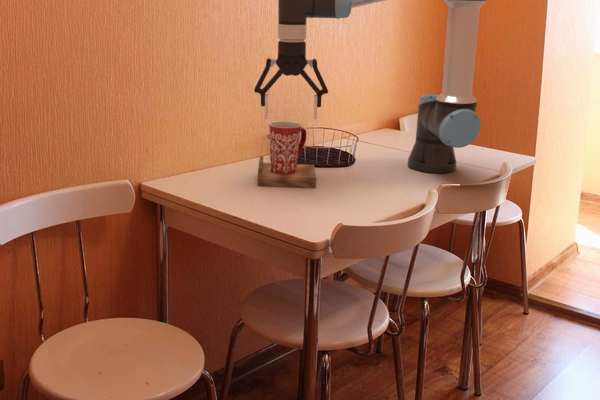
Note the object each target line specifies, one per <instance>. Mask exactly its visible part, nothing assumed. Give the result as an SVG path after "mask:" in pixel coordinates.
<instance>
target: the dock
mask: <svg viewBox="0 0 600 400" xmlns="http://www.w3.org/2000/svg"><path fill="white" fill-rule="evenodd" d="M258 160H259V161H258V168H257V186H259V187H260V186H261V187H283V188H284V187H286V188H287V187H288V188H289V187H291V188H312V189H313V188H316V186H317V185H316V184H317V177H316V176H317V175H316V169H315V164H303V163H302V164H301V163H299V164H298V163H297V168H296V172H294V173H291V174H278V173H274V172H272V171H271V162H270V163H269V162H264V156H262V155H260V156H259V159H258Z"/></svg>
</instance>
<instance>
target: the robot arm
mask: <svg viewBox="0 0 600 400" xmlns="http://www.w3.org/2000/svg"><path fill="white" fill-rule="evenodd" d="M384 1H386V0H278V2H277V3H278V8H277V9H278V12H277V13H278V14H277V15H278V16H277V18H278V19H277V21H278V24H277V25H278V26H277V38H278V40H279V41H278V42H277V58H276V59H274V58H271V57H267V58H266V62H265V67H264V69H263V71H262V73H261V74H260V77H259V78H258V82H257V83H256V85H255V87H254V89H253V91H254V93H257V94H259V95H260V106H261V107H264V119H265V120H268V119H269V94H268V93H267V92H268V91H269V90H270V89H271V88H272V86H273V85H274V84H275V83H276V82H277V81H278V79H279V78H281V77H282V75H283V76H284V75H285V76H287V77H288V76H293V77H296V76H297V77H298V76H299V75H301V77H302V78H303V79H304V81H306V83H307V84H308V85H309V86H310V88H311V89H312V90H313V91H314V93H315V94H314V95H313V99H314V100H313V120H314V121H316V120H318V119H317V118H318V116H317V115H318V108H321V107H322V96H323V95H327V94H328V93H329V89H328V88H327V85H326V83H325V81H324V78H323V77H322V74H321V72H320V70H319V68H318V61H317V59H316V58H312V59H307V58H306V56H307V55H306V53H307V52H306V51H307V48H306V47H307V45H306V44H307V42H306V41H305V40H306V39H307V19H308V18H309V19H312V18H314V19H337V20H338V19H347V18H349V17H350V15H351V13H352V9H353V8H358V7H361V6H367V5H372V4H375V3H380V2H384ZM443 3H445V4H446V6H447V7H448V10H447V11H448V12H447V20H446V21H447V23H446V34H445V35H446V37H445V49H444V61H443V71H442V85H441V86H442V87H441V92H440V94H422V95H421V96H420V97H419V102H418V106H417V107H418V108H417V109H418V110H417V120H416V130H415V131H416V133H415V134H416V135H415V140H414V141H415V142H414V144H413V146H412V149H411V152H410V153H409V156H408V159H407V167H409V168H410V169H412V170H416V171H419V172H422V173H423V172H424V173H429V174H430V173H431V174H448V173H454V172H455V171H456V170H457V158H456V153H455V149H454V148H457V149H460V148H464V147H467V146H469V145H471V144H472V143H473V142H474V141H475V140H476V139H477V138H478V136H479V135H480V132H481V127H482V123H481V118H480V117H479V115H478V113H477V104H478V101H477V98H476V97H475V96H474V95H473V86H474V77H475V67H476V66H475V65H476V56H477V47H478V46H477V43H478V37H479V36H478V35H479V21H480V13H481V7H482V6H484V5H485V3H487V0H443ZM274 65H277V68H278V70H277V71H276V73H275V74H274V75H273V76H272V78H270V80H269V81H268V82H267V83H266V85H265V86H264V87H263V88H262V85H263V83H264V81H265V80H266V78H267V75H268V73H269V71H270V70H271V69H270V68H272V67H274ZM307 65H308V66H309V67H310V68H313V69H312V70H313V73H314V74H315V76H316V78H317V80H318V83H319V85H320V87H321V89H320V88H319V87H318V86H317V84H316V83H315V82H314V81H313V79H312V78H311V76H309V74H308V73H307V72H306V71H305V68H306V67H307Z"/></svg>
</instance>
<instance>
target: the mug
mask: <svg viewBox="0 0 600 400" xmlns="http://www.w3.org/2000/svg"><path fill="white" fill-rule="evenodd" d="M268 126H269V148H270V149H269V154H270V156H269V157H270V163H271V171H272V172H274V173H278V174H291V173H294V172H296V168H297V164H298V158H299V157H300V156H301V153H302V151H303V149H304V147H305V143H306V141H307V131H306V129H305V128H304V127H302V124H301V123H299V122H296V121H289V120H275V121H271V122H269V123H268Z"/></svg>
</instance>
